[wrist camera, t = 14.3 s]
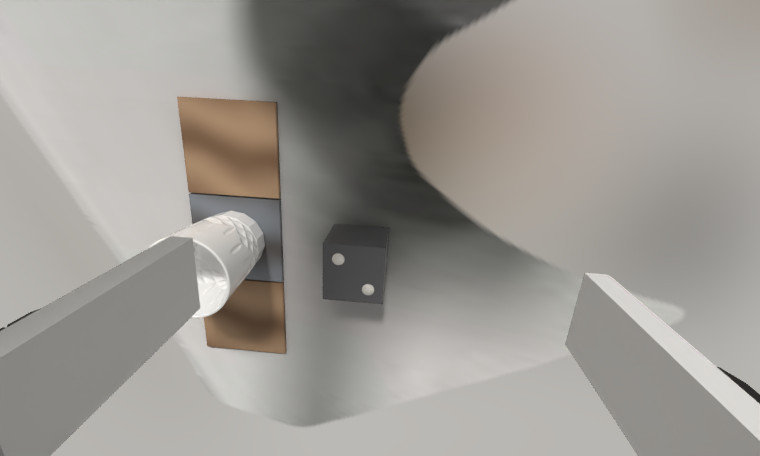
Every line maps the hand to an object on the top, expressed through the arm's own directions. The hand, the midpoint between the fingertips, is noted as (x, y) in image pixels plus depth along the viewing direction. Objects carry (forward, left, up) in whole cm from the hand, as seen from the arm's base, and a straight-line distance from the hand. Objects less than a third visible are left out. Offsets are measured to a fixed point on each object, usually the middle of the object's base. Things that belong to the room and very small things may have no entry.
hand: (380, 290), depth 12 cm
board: (+9, -18, -27) cm, 33 cm away
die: (+10, -4, -27) cm, 29 cm away
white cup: (+9, -18, -26) cm, 33 cm away
